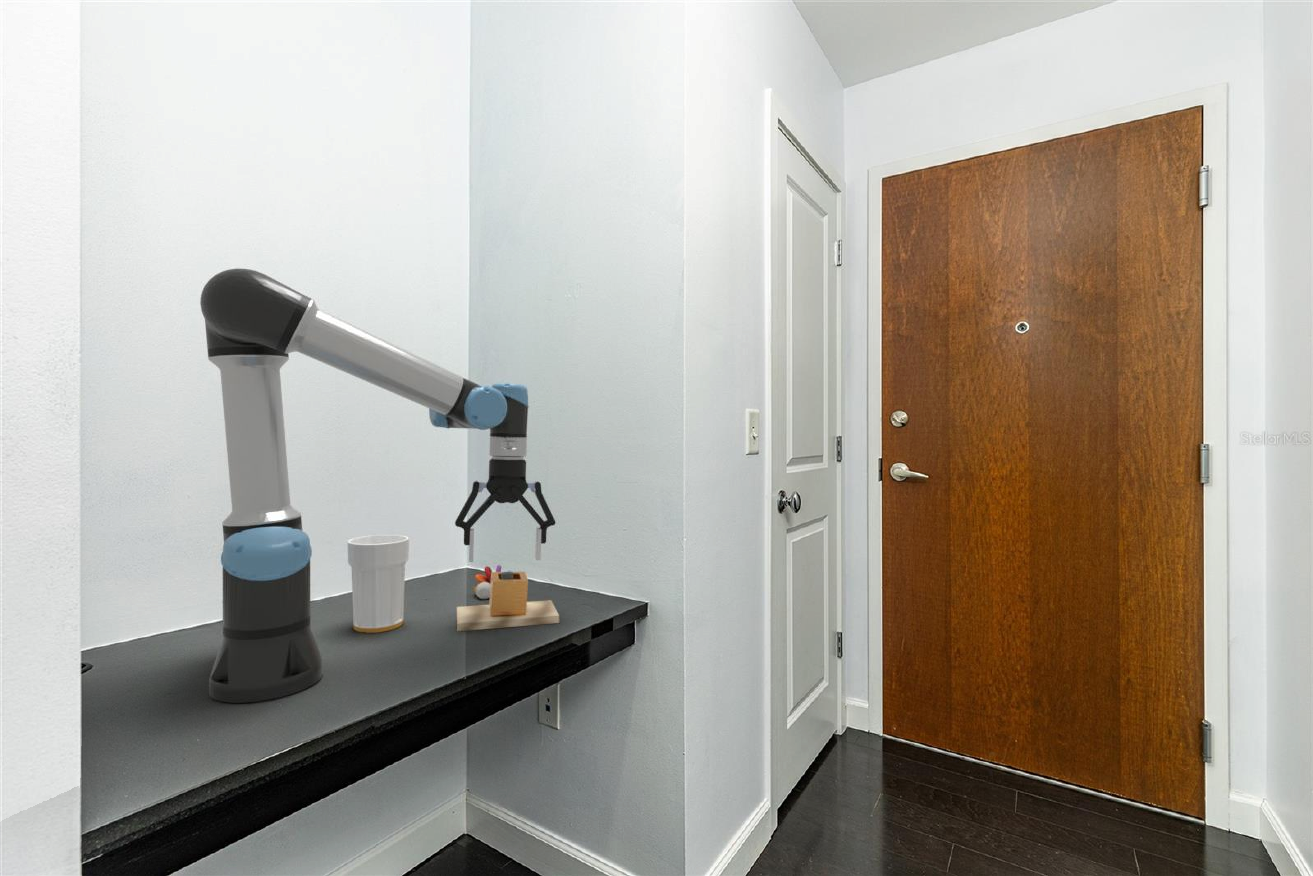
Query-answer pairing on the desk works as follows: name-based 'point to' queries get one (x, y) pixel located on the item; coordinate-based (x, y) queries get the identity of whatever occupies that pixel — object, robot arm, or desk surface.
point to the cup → (378, 581)
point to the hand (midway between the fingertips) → (504, 560)
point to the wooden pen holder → (508, 594)
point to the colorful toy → (485, 583)
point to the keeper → (483, 619)
